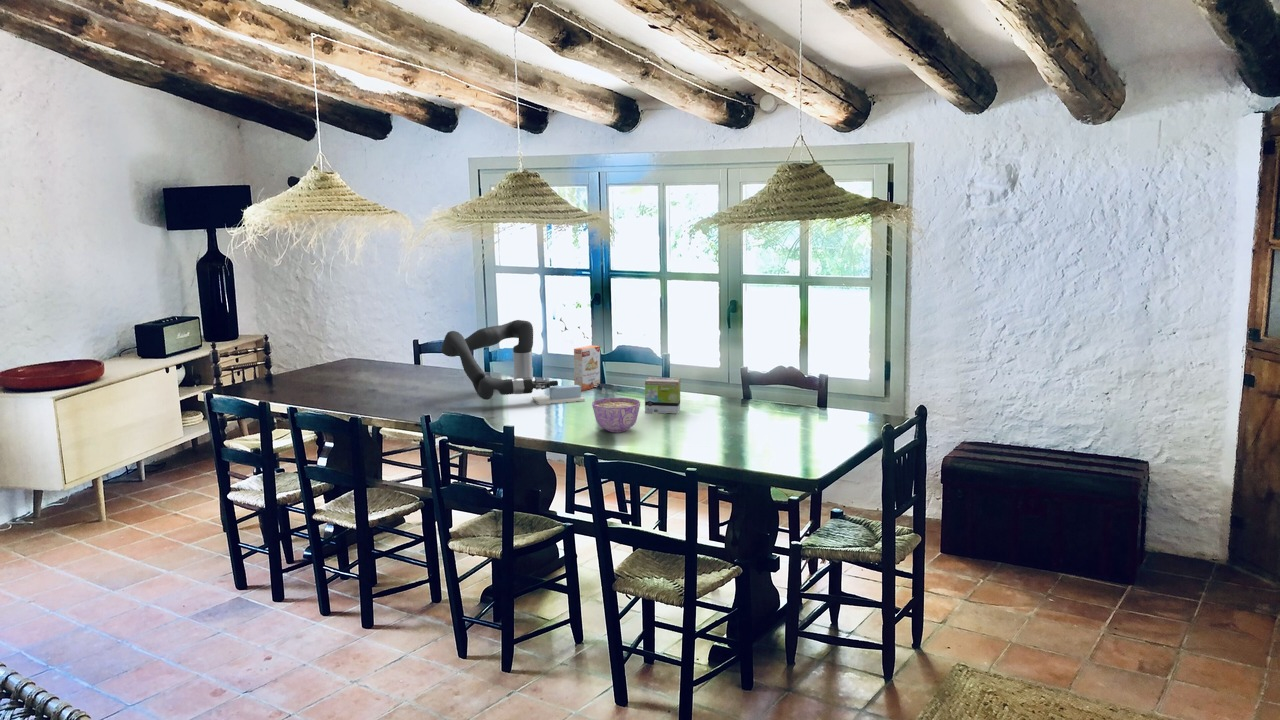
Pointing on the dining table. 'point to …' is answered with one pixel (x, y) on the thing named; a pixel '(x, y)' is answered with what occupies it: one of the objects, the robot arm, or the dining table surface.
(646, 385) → the tea box
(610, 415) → the bowl of food
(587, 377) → the cracker box
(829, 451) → the dining table surface
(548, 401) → the cream tile
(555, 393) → the blue block
